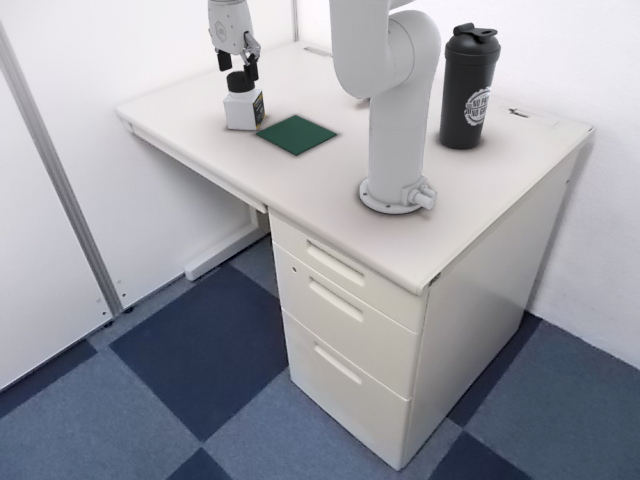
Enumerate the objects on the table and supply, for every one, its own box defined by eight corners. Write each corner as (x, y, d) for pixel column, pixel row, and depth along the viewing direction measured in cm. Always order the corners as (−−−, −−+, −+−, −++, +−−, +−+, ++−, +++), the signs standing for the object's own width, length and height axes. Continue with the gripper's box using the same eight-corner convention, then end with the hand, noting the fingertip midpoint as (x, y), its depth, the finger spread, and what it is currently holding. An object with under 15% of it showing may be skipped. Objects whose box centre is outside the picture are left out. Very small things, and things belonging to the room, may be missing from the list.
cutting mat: (336, 135, 110) (336, 133, 109) (296, 155, 104) (296, 154, 103) (295, 116, 118) (295, 114, 117) (255, 134, 112) (255, 132, 111)
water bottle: (458, 156, 100) (476, 41, 85) (424, 137, 107) (435, 27, 92) (494, 142, 104) (516, 28, 89) (459, 124, 111) (475, 16, 96)
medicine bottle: (257, 131, 113) (249, 80, 105) (227, 129, 114) (218, 79, 106) (265, 116, 118) (259, 67, 110) (237, 115, 119) (229, 66, 112)
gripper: (187, -12, 101) (203, 70, 112) (236, 3, 91) (248, 92, 102) (217, -19, 105) (230, 61, 116) (268, -6, 95) (276, 81, 106)
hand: (239, 75), depth 109 cm, fingers open, 9 cm apart
